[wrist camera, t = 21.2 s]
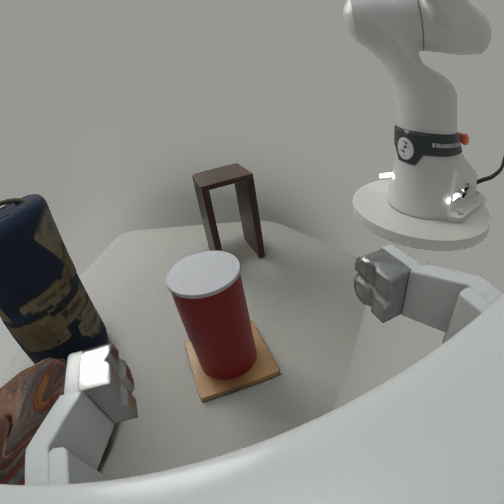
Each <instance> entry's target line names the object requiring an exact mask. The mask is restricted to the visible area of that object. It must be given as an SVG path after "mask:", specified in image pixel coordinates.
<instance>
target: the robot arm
mask: <svg viewBox="0 0 504 504" xmlns="http://www.w3.org/2000/svg"><path fill="white" fill-rule="evenodd" d="M343 20H344V24H345V27H346V29H347V30H348V32H349V33H350V35H351V36H352V37H353V38H354V39H355V40H356V41H357V42H358V43H360V44H361V45H363V46H365V47H366V48H368V49H369V50H370V51H371V52H373V53H374V54H375V55H376V57H377V58H378V59H379V60H380V61H381V62H382V64H383V65H384V67H385V68H386V70H387V72H388V74H389V76H390V79H391V82H392V85H393V90H394V97H395V104H396V118H397V125H396V126H395V132H394V140H395V143H394V144H395V146H396V152H395V156H394V165H393V172H391V173H383V174H380V178H384V177H391V176H392V181H391V183H390V184H389V194H388V197H387V201H388V203H389V204H390V205H391V206H392V207H393V208H394V209H396V210H398V211H399V212H402V213H404V214H407V215H409V216H413V217H417V218H421V219H428V220H444V221H448V222H453V223H462V222H464V221H465V220H466V219H467V218H468V217H469V216H471V215H472V214H473V213H474V212H475V211H476V210H477V209H478V208H479V207H481V206H482V205H483V204H484V203H485V197H484V196H483V195H482V194H481V193H479V192H478V191H476V186H477V184H479V183H481V182H484V181H487V180H491V179H493V178H494V177H495V176H497V175H498V174H499V173H500V172H501V171H502V169H503V167H504V157H503V160H502V164H501V167H500V168H499V169H498V171H496V172H495V173H494V174H492V175H490V176H488V177H484V178H481V179H478V180H477V174H476V171H475V170H474V169H473V167H472V166H471V165H470V164H469V162H468V161H467V160H466V159H465V157H464V156H463V155H462V149H461V143H462V144H464V145H467V144H468V142H469V141H467V140H469V139H467V138H469V137H467V136H468V135H467V134H462V133H458V132H457V95H456V91H455V89H454V87H453V85H452V84H451V82H450V81H449V80H447V79H446V78H445V77H444V76H442V75H440V74H439V73H437V72H436V71H434V70H432V69H430V68H428V67H427V66H426V65H424V64H423V62H422V61H421V59H420V57H419V54H418V52H419V51H432V52H441V53H449V54H456V55H469V54H482V53H483V52H484V51H485V50H486V49H487V47H488V45H489V43H490V39H491V29H490V25H489V22H488V20H487V17H486V16H485V14H484V13H483V11H482V10H481V9H480V8H479V7H478V6H477V5H476V4H475V3H474V2H472V1H471V0H347V1H346V3H345V5H344V8H343ZM355 270H356V271H357V272H358V274H357V276H356V277H355V279H354V289H355V292H356V295H357V297H358V298H359V300H360V301H361V302H362V303H363V304H365V305H368V306H371V312H372V313H373V314H374V315H375V316H376V317H377V318H378V319H379V320H380V321H381V322H382V323H384V322H386V321H388V320H390V319H392V318H394V317H396V316H398V315H400V314H402V315H403V316H406V317H409V318H411V319H413V320H416V321H419V322H421V323H423V324H426V325H429V326H431V327H434V328H436V329H438V330H441V331H444V332H446V334H445V336H444V339H443V342H442V345H440V346H439V347H438V348H436V349H435V350H433V351H432V352H431V353H429V354H428V355H426V356H425V357H423V358H422V359H421V360H419V361H417V362H416V363H414V364H413V365H412V366H410V367H409V368H407V369H405V370H404V371H402V372H400V373H399V374H397V375H396V376H394V377H392V378H391V379H389V380H387V381H386V382H384V383H382V384H381V385H379V386H377V387H376V388H374V389H372V390H370V391H369V392H367V393H365V394H363V395H362V396H359V397H358V398H356V399H354V400H352V401H350V402H348V403H346V404H345V405H342V406H341V407H339V408H337V409H335V410H333V411H331V412H328V413H326V414H324V415H322V416H320V417H318V418H316V419H314V420H312V421H309V422H307V423H305V424H303V425H300V426H298V427H296V428H294V429H291V430H289V431H287V432H284V433H282V434H279V435H277V436H274V437H272V438H269V439H267V440H264V441H261V442H259V443H256V444H253V445H250V446H248V447H245V448H242V449H239V450H236V451H233V452H230V453H227V454H224V455H220V456H217V457H214V458H211V459H207V460H204V461H200V462H196V463H193V464H189V465H185V466H181V467H177V468H173V469H168V470H164V471H159V472H155V473H150V474H145V475H139V476H134V477H128V478H121V479H114V480H111V479H109V478H108V477H106V476H105V475H103V474H102V473H100V472H98V471H97V469H98V467H99V464H100V461H101V459H102V456H103V453H104V451H105V448H106V446H107V443H108V440H109V438H110V435H111V433H112V430H113V428H114V425H115V424H114V423H118V422H122V421H125V420H129V419H133V418H137V417H138V413H137V405H136V399H135V398H134V397H133V396H132V392H133V390H134V381H133V378H132V374H131V372H130V369H129V367H128V365H127V364H126V362H125V361H124V360H122V359H120V358H119V353H118V350H117V349H116V347H115V346H114V344H112V343H109V344H105V345H102V346H98V347H94V348H90V349H86V350H83V351H79V352H75V353H71V354H70V355H69V356H68V359H67V367H66V376H65V387H64V395H60V396H59V398H58V399H57V401H56V402H55V404H54V405H53V407H52V409H51V410H50V412H49V413H48V415H47V416H46V418H45V419H44V421H43V422H42V424H41V426H40V427H39V429H38V430H37V432H36V433H35V435H34V437H33V438H32V440H31V442H30V443H29V445H28V446H27V448H26V453H25V485H8V484H0V504H504V292H503V291H502V290H501V289H499V288H498V287H497V286H495V285H494V284H492V283H491V282H490V281H488V280H487V279H485V278H484V277H483V276H481V275H477V274H472V273H467V272H463V271H459V270H454V269H450V268H445V267H440V266H436V265H431V264H424V265H423V264H421V263H420V262H418V261H417V260H416V259H414V258H413V257H411V256H410V255H409V254H407V253H406V252H404V251H403V250H401V249H400V248H398V247H397V246H395V245H392V244H390V245H388V246H385V247H383V248H381V249H379V250H377V251H374V252H372V253H369V254H367V255H365V256H362V257H359V258H357V260H356V262H355Z"/></svg>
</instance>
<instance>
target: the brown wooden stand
mask: <svg viewBox="0 0 504 504" xmlns="http://www.w3.org/2000/svg"><path fill="white" fill-rule="evenodd" d="M192 177H193V181H194V186H195V190H196V195H197V199H198V203H199V208H200V212H201V216H202V220H203V224H204V229H205V233H206V237H207V241H208V245H209V249H210V251H222V248H221V243H220V239H219V234H218V230H217V225H216V221H215V216H214V212H213V207H212V202H211V198H210V193H209V190H211V189H214V188H218V187H222V186H226V185H229V184H233V183H235V188H236V194H237V199H238V205H239V211H240V216H241V222H242V228H243V233H244V238H245V240H246V241H247V242H248V244H249V245H250V246H251V247H252V249H253V250H254V251H255V253H256V254H257V255H258V257H259V258H261V257H264V256H265V252H264V246H263V239H262V232H261V225H260V219H259V212H258V205H257V199H256V192H255V185H254V179H253V174H252V173H251V172H249V171H248V170H246V169H245V168H243V167H242V166H240V165H239V164H237V163H236V164H232V165H228V166H224V167H219V168H215V169H212V170H208V171H204V172H200V173H197V174H193V175H192Z"/></svg>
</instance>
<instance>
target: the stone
mask: <svg viewBox="0 0 504 504" xmlns="http://www.w3.org/2000/svg"><path fill="white" fill-rule="evenodd" d="M66 367H67V366H66V365H65V364H64V363H63V362H61V361H60V360H58V359H55V358H47V359H44V360H42V361H40V362H38V363H37V364H35V365H34V366H32V367H30V368H27V369H25V370H24V371H21V372H20V373H19V374H17V375H16V376H15V377H14V378H12V379H11V380H10V381H9V382H8V383H6V384H5V385H4V386H3V387H1V388H0V484H8V485H25V453H26V448H27V446H28V445H29V443H30V442H31V440H32V438H33V437H34V435H35V433H36V432H37V430H38V429H39V427H40V426H41V424H42V422H43V421H44V419H45V418H46V416H47V415H48V413H49V412H50V410H51V409H52V407H53V405H54V404H55V402H56V401H57V399H58V398H59V396H60V395H64V387H65V376H66ZM107 445H108V443H107ZM106 447H107V446H106ZM105 450H106V448H105Z"/></svg>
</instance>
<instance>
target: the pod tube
mask: <svg viewBox="0 0 504 504" xmlns="http://www.w3.org/2000/svg"><path fill="white" fill-rule="evenodd" d="M166 284H167V287H168V289H169V290H170V291H171V293H172V296H173V299H174V301H175V304H176V306H177V309H178V312H179V314H180V317H181V319H182V322H183V324H184V327H185V329H186V332H187V334H188V337H189V339H190V341H191V344H192V346H193V349H194V351H195V353H196V356H197V358H198V360H199V363H200V365H201V367H202V369H203V371H204V372H205V373H206V374H208V375H209V376H211V377H213V378H217V379H233V378H236V377H239V376H241V375H243V374H245V373H246V372H247V371H248V370H250V369H251V367H252V366H253V365H254V363H255V361H256V357H257V351H256V346H255V342H254V337H253V332H252V328H251V323H250V318H249V313H248V309H247V304H246V299H245V294H244V289H243V285H242V280H241V275H240V263H239V260H238V259H237V258H236V257H235V256H234V255H232V254H230V253H228V252H224V251H203V252H199V253H195V254H192V255H190V256H187V257H185V258H183V259H182V260H180V261H179V262H177V263H176V264H175V265H174V266H173V267H172V268H171V269H170V270H169V272H168V274H167V276H166Z"/></svg>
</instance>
